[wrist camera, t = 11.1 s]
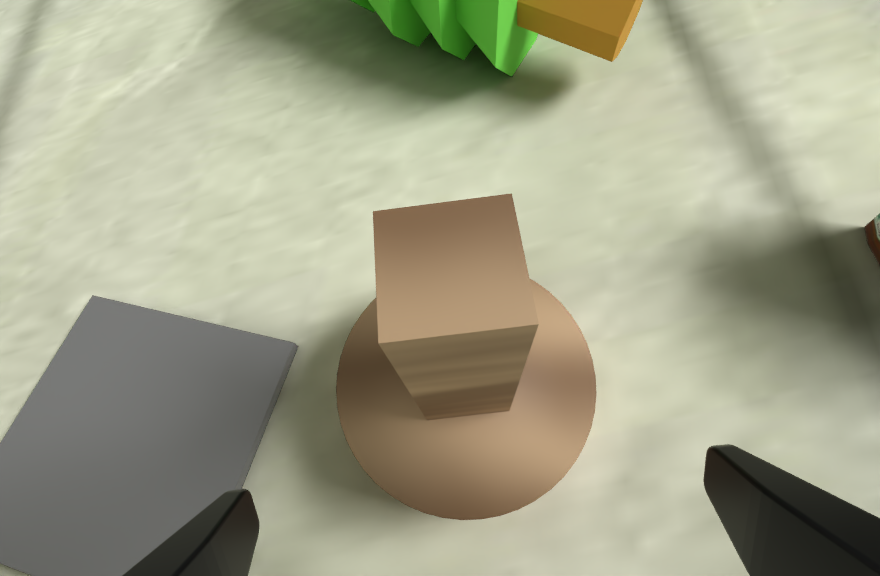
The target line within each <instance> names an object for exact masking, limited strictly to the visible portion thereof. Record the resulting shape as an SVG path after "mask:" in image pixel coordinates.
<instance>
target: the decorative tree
mask: <svg viewBox="0 0 880 576" xmlns="http://www.w3.org/2000/svg"><path fill="white" fill-rule="evenodd" d="M351 1H352V2H354V3H356V4H358V5H360V6H362V7H364V8H366V9H368V10H370V11H372V12H375V11H376V12H377V14H378V15H379V16H380V18H381V19H382V21H383V22H384V23H385V25H386V26H387V27H388V29H389V30H390V32H391V33H392V34H393V35H394V36H396V37H398V38H400V39H403V40H405V41H407V42H409V43H411V44H413V45H415V46H417V47H419V46H420V45H421V43H422V42H423V41H424V40H425V39H426V37H427V36H428V35H429V34H430V33H432V35H433V36H434V38H435V39H436V41H437V42H438V44H439V45H440V47H441V48H442V49H443V50H445V51H447V52H449V53H451V54H452V55H454V56H456V57H458V58H460V59H462V60H465V58H466V57H467V56H468V54H469V53H470V51H471V50H472V49H473V47H474V46H475V44H477V45H478V47H479V48H480V49H481V50H482V51H483V53H484V54H485V55H486V56H487V58H488V59H489V60H490V61H491V63H492V64H493V65H494V66H495V67H496V68H497V69H499V70H501V71H503V72H504V73H506V74H508V75H509V76H511V77H512V76H513V74H514V73H515V71H516V70H517V68H518V67H519V65H520V64H521V62H522V61H523V59H524V57H525V56H526V54H527V53H528V51H529V50H530V48H531V47H532V45H533V44H534V42H535V40H536V38H537V35H538V34H540V35H543V36H546V37H548V38H551V39H554V40H556V41H559V42H561V43H564V44H567V45H569V46H572V47H574V48H577V49H580V50H582V51H585V52H588V53H590V54H593V55H595V56H598V57H601V58H603V59H606V60H609V61H611V62H612V61H613V60H614V59H615V58H616V57H617V56H618V54H619V53H620V51H621V49H622V47H623V45H624V44H625V42H626V40H627V37H628V35H629V33H630V31H631V28H632V26H633V24H634V21H635V19H636V17H637V14H638V12H639V10H640V7H641V4H642V1H643V0H351Z"/></svg>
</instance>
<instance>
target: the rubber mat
mask: <svg viewBox="0 0 880 576" xmlns="http://www.w3.org/2000/svg"><path fill="white" fill-rule="evenodd" d="M297 348H298V346H297V345H296V344H295V343H293V342H289V341H284V340H280V339H276V338H272V337H267V336H263V335H259V334H255V333H250V332H246V331H242V330H238V329H233V328H229V327H225V326H221V325H216V324H212V323H208V322H204V321H199V320H195V319H191V318H187V317H182V316H178V315H174V314H170V313H165V312H161V311H157V310H153V309H148V308H144V307H140V306H136V305H131V304H127V303H123V302H119V301H114V300H110V299H106V298H102V297H97V296H92V297H91V299H90V300H89V302H88V304H87V305H86V307H85V308H84V310H83V312H82V313H81V315H80V316H79V318H78V320H77V321H76V323H75V324H74V326H73V328H72V329H71V331H70V332H69V334H68V336H67V337H66V339H65V340H64V342H63V344H62V345H61V347H60V348H59V350H58V352H57V353H56V355H55V356H54V358H53V360H52V361H51V363H50V364H49V366H48V368H47V369H46V371H45V372H44V374H43V376H42V377H41V379H40V380H39V382H38V384H37V385H36V387H35V389H34V390H33V392H32V393H31V395H30V397H29V398H28V400H27V401H26V403H25V405H24V406H23V408H22V409H21V411H20V413H19V414H18V416H17V417H16V419H15V421H14V422H13V424H12V425H11V427H10V429H9V430H8V432H7V433H6V435H5V437H4V438H3V440H2V441H1V443H0V564H3V565H5V566H8V567H10V568H13V569H16V570H18V571H21V572H24V573H26V574H29V575H32V576H122V575H123V574H124V573H126V572H127V571H128V570H129V569H131V568H132V567H133V566H134V565H135V564H137V563H138V562H139V561H140V560H142V559H143V558H144V557H145V556H147V555H148V554H149V553H150V552H152V551H153V550H154V549H155V548H156V547H158V546H159V545H160V544H161V543H163V542H164V541H165V540H166V539H168V538H169V537H170V536H171V535H173V534H174V533H175V532H176V531H177V530H179V529H180V528H181V527H182V526H184V525H185V524H186V523H187V522H189V521H190V520H191V519H192V518H194V517H195V516H196V515H197V514H198V513H200V512H201V511H202V510H203V509H205V508H206V507H207V506H208V505H210V504H211V503H212V502H213V501H215V500H216V499H217V498H218V497H219V496H221V495H222V494H223V493H225V492H226V491H230V490H239V489H241V488H242V486H243V483H244V481H245V478H246V476H247V473H248V471H249V468H250V466H251V463H252V461H253V458H254V456H255V453H256V451H257V448H258V446H259V443H260V441H261V438H262V436H263V433H264V431H265V428H266V426H267V423H268V421H269V418H270V416H271V413H272V411H273V408H274V406H275V403H276V401H277V398H278V396H279V393H280V391H281V388H282V386H283V383H284V381H285V378H286V376H287V373H288V371H289V368H290V366H291V363H292V361H293V358H294V356H295V353H296V351H297Z"/></svg>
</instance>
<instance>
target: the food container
mask: <svg viewBox="0 0 880 576" xmlns="http://www.w3.org/2000/svg"><path fill="white" fill-rule="evenodd" d="M865 232H866V237H867V242H868V245H869V247H870V249H871V251H872V253H873V255H874V256H875V258H876V260H877V262H878V264H879V266H880V214H879V215H877V216H876V217H875V218H874V219H873V220H872V221H871V222H869V223H868V224H867V225H866V226H865Z"/></svg>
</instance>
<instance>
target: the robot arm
mask: <svg viewBox="0 0 880 576" xmlns="http://www.w3.org/2000/svg"><path fill="white" fill-rule="evenodd" d="M704 486H705V490H706V493H707V495H708V497H709V499H710V501H711V503H712V505H713V506H714V508H715V510H716V512H717V514H718V516H719V518H720V520H721V522H722V524H723V526H724V528H725V530H726V532H727V534H728V535H729V537H730V539H731V541H732V543H733V545H734V547H735V549H736V551H737V553H738V555H739V557H740V559H741V561H742V562H743V564H744V566H745V568H746V570H747V571H748V573H749V575H750V576H880V518H878V517H876V516H874V515H872V514H870V513H868V512H866V511H864V510H862V509H860V508H858V507H856V506H854V505H852V504H850V503H848V502H846V501H844V500H842V499H840V498H838V497H836V496H834V495H832V494H830V493H828V492H826V491H824V490H822V489H820V488H818V487H816V486H814V485H812V484H810V483H808V482H806V481H804V480H802V479H800V478H798V477H796V476H794V475H792V474H790V473H788V472H786V471H784V470H782V469H780V468H778V467H776V466H774V465H772V464H770V463H768V462H766V461H764V460H762V459H760V458H758V457H756V456H754V455H752V454H750V453H748V452H746V451H744V450H742V449H740V448H738V447H736V446H734V445H729V444H727V445H716V446H711V447H709V448H708V450H707V453H706V462H705V471H704ZM258 534H259V519H258V516H257V512H256V509H255V506H254V502H253V499H252V496H251V493H250V492H249V491H248V490H246V489H239V490H230V491H226V492H225V493H223V494H222V495H221V496H219V497H218V498H217V499H216V500H215V501H213V502H212V503H211V504H210V505H208V506H207V507H206V508H205V509H203V510H202V511H201V512H200V513H198V514H197V515H196V516H195V517H194V518H192V519H191V520H190V521H189V522H187V523H186V524H185V525H184V526H182V527H181V528H180V529H179V530H177V531H176V532H175V533H174V534H173V535H171V536H170V537H169V538H168V539H166V540H165V541H164V542H163V543H161V544H160V545H159V546H158V547H156V548H155V549H154V550H153V551H152V552H150V553H149V554H148V555H147V556H145V557H144V558H143V559H142V560H140V561H139V562H138V563H137V564H135V565H134V566H133V567H132V568H131V569H129V570H128V571H127V572H126V573H124V574H123V575H122V576H248V573H249V569H250V565H251V562H252V558H253V554H254V550H255V546H256V542H257V538H258Z"/></svg>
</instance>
